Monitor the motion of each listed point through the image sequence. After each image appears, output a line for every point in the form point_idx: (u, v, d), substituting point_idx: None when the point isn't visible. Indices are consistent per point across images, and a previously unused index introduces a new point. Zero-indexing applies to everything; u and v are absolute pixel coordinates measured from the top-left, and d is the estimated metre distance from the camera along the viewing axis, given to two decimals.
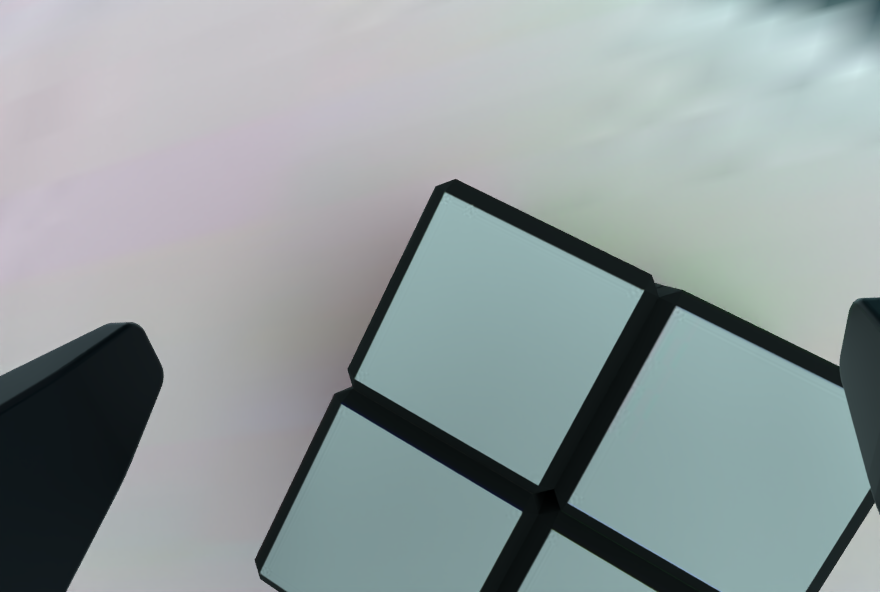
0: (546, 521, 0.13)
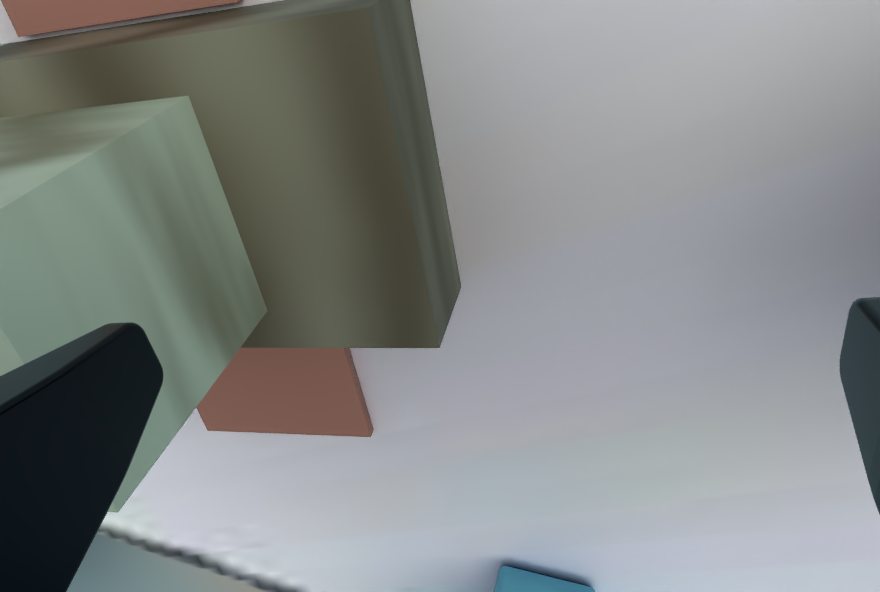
0: None
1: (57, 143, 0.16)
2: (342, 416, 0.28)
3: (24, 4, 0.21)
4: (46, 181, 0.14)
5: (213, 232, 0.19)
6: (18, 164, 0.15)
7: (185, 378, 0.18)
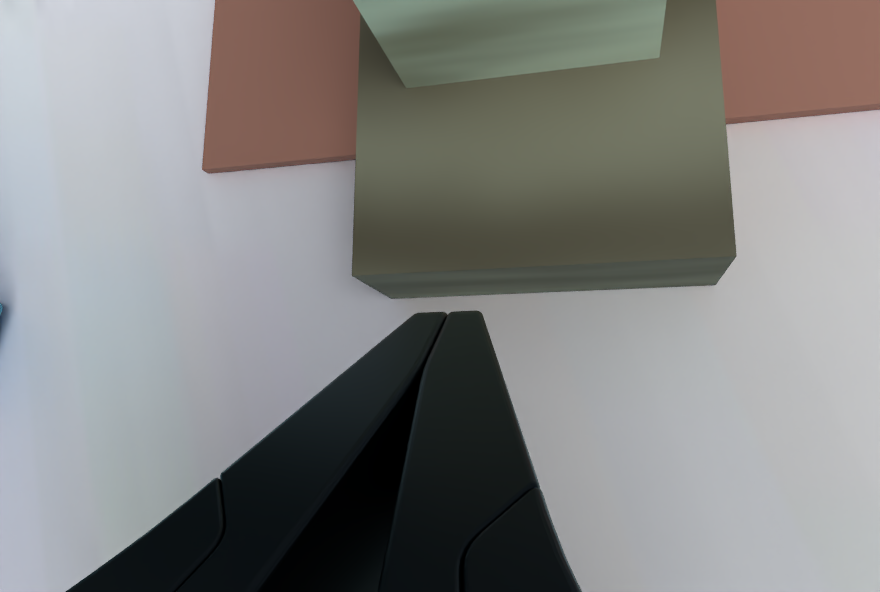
0: None
1: None
2: (232, 140, 0.24)
3: None
4: None
5: (520, 52, 0.18)
6: None
7: None
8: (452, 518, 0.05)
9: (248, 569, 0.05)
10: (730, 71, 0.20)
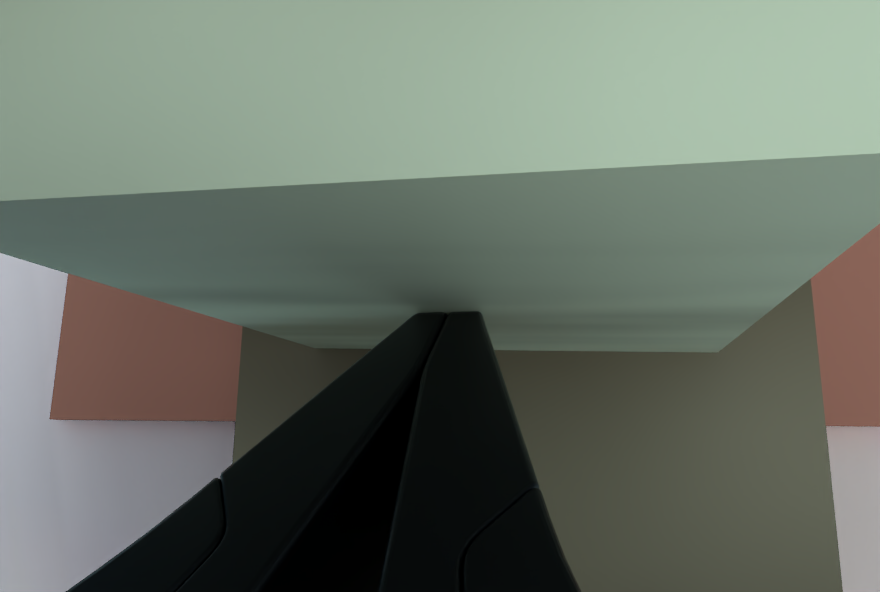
0: None
1: None
2: (91, 380, 0.17)
3: None
4: None
5: None
6: None
7: (231, 302, 0.08)
8: (451, 518, 0.05)
9: (249, 569, 0.05)
10: None
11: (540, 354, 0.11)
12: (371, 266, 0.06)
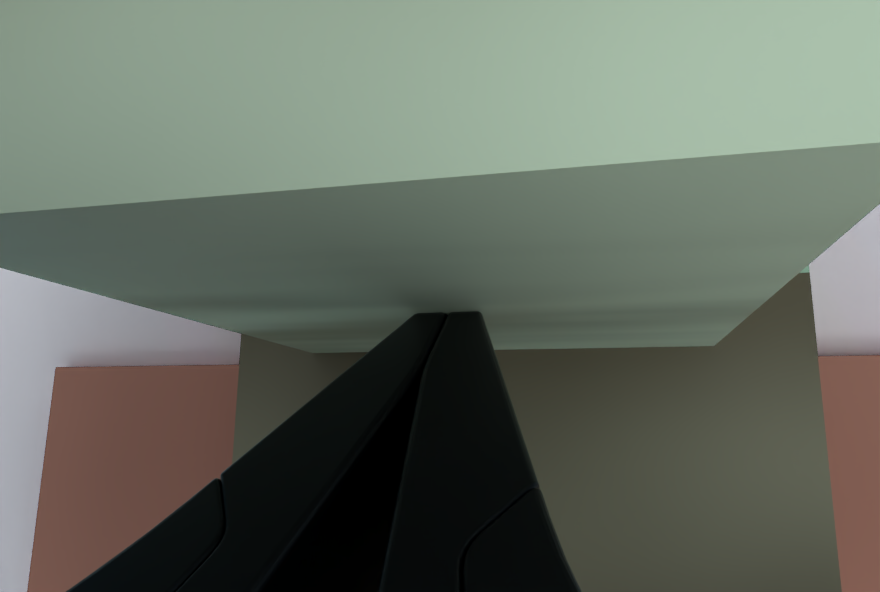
0: None
1: None
2: None
3: (834, 396, 0.13)
4: None
5: None
6: None
7: (226, 309, 0.08)
8: (452, 518, 0.05)
9: (248, 569, 0.05)
10: None
11: None
12: (365, 269, 0.06)
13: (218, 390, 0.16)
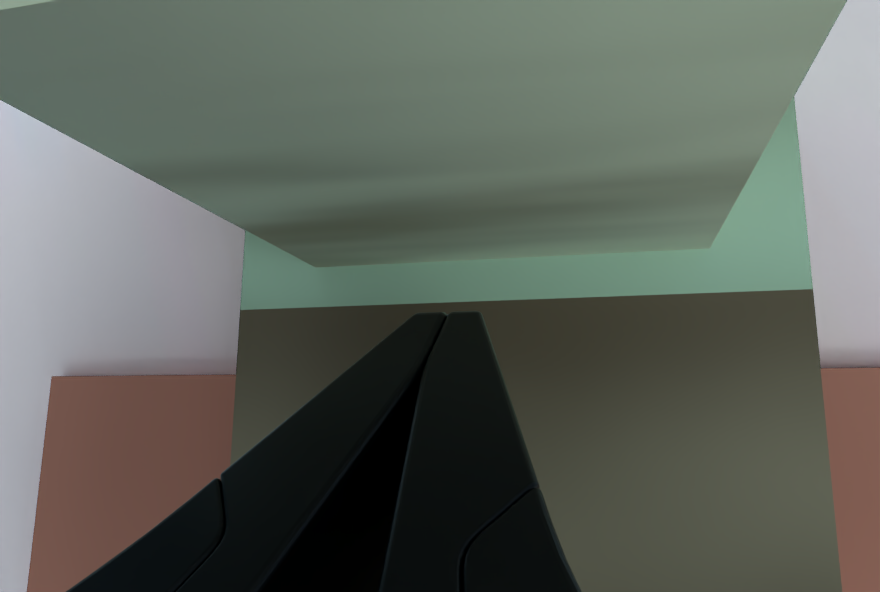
0: None
1: None
2: None
3: (836, 409, 0.13)
4: (798, 86, 0.06)
5: (485, 241, 0.11)
6: None
7: (233, 183, 0.08)
8: (452, 518, 0.05)
9: (248, 569, 0.05)
10: None
11: None
12: (368, 106, 0.06)
13: (215, 400, 0.16)
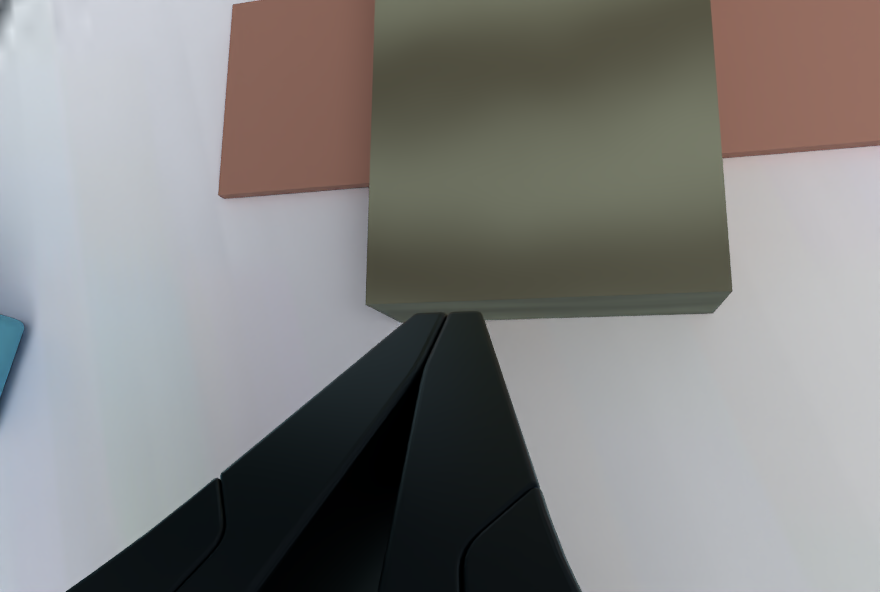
0: None
1: None
2: (247, 167, 0.25)
3: None
4: None
5: None
6: None
7: None
8: (452, 518, 0.05)
9: (248, 569, 0.05)
10: (727, 107, 0.21)
11: (557, 90, 0.19)
12: None
13: (345, 1, 0.26)
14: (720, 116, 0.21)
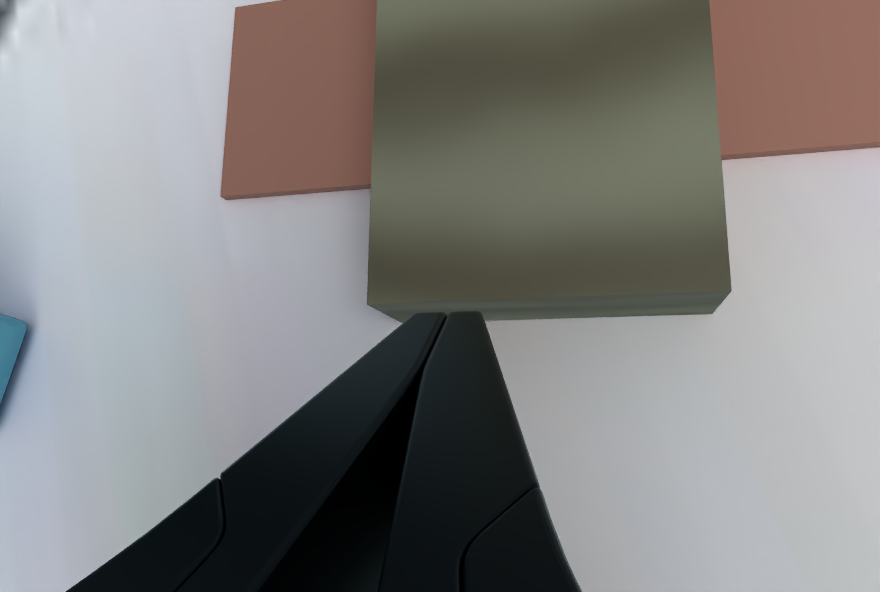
0: None
1: None
2: (249, 169, 0.25)
3: None
4: None
5: None
6: None
7: None
8: (452, 518, 0.05)
9: (248, 569, 0.05)
10: (727, 110, 0.21)
11: (557, 92, 0.20)
12: None
13: (347, 4, 0.26)
14: (719, 118, 0.21)
